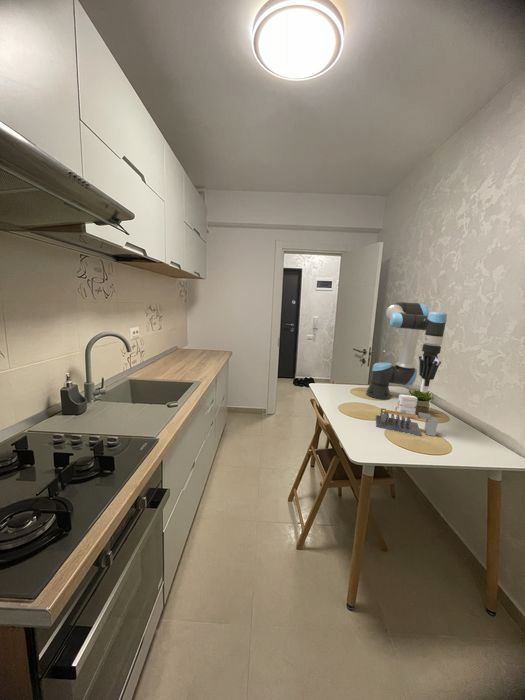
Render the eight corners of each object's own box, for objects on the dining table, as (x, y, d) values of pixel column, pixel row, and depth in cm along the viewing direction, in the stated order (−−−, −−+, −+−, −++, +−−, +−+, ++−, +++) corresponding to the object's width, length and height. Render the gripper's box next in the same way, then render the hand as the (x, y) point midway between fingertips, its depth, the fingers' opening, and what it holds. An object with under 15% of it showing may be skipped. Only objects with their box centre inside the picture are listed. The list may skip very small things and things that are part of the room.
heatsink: (375, 418, 154) (377, 406, 153) (416, 426, 147) (418, 414, 146) (376, 426, 143) (378, 413, 142) (420, 436, 136) (422, 422, 135)
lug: (415, 428, 144) (418, 411, 143) (433, 432, 142) (436, 415, 140) (416, 432, 140) (420, 415, 138) (435, 436, 137) (438, 418, 135)
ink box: (410, 414, 164) (414, 395, 162) (414, 418, 159) (418, 398, 157) (395, 413, 164) (398, 393, 162) (398, 416, 159) (402, 396, 157)
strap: (382, 411, 148) (382, 408, 148) (416, 416, 143) (417, 413, 143) (382, 413, 145) (382, 410, 145) (417, 419, 139) (418, 416, 139)
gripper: (416, 342, 140) (408, 387, 144) (434, 346, 128) (424, 395, 131) (430, 343, 141) (422, 388, 145) (449, 347, 128) (439, 396, 132)
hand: (423, 391), depth 138 cm, fingers closed
